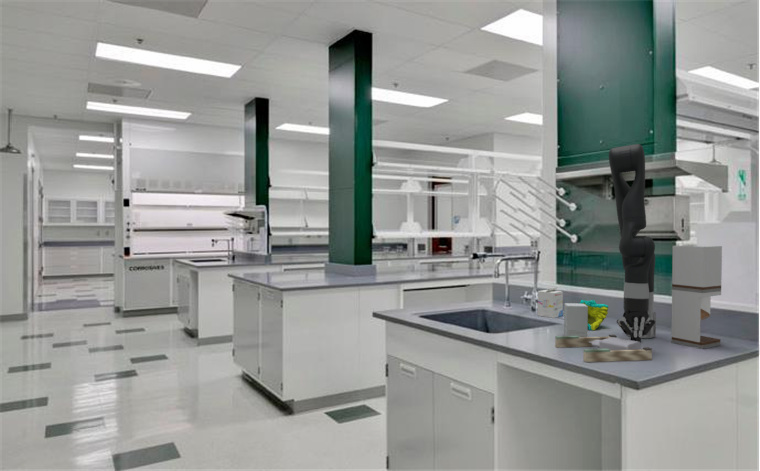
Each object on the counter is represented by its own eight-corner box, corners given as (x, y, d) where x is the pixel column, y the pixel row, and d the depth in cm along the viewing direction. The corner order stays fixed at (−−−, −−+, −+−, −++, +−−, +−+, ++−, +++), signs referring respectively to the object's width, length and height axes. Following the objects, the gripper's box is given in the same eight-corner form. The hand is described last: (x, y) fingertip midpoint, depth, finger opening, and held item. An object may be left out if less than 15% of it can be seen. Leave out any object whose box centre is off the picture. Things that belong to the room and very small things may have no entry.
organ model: (603, 315, 197) (572, 297, 204) (591, 339, 202) (561, 321, 209) (616, 304, 208) (586, 287, 215) (603, 326, 213) (575, 310, 220)
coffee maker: (702, 348, 172) (703, 246, 171) (671, 342, 181) (672, 245, 180) (720, 345, 177) (721, 246, 177) (689, 339, 187) (691, 245, 186)
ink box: (546, 313, 240) (546, 285, 240) (563, 315, 234) (563, 287, 234) (537, 315, 235) (537, 287, 234) (553, 318, 228) (554, 288, 228)
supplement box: (587, 340, 184) (588, 306, 184) (566, 339, 185) (566, 305, 185) (583, 336, 191) (584, 303, 191) (563, 335, 193) (563, 302, 192)
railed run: (614, 344, 177) (614, 334, 177) (651, 359, 158) (651, 348, 157) (555, 346, 175) (555, 336, 174) (585, 362, 155) (586, 350, 155)
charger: (596, 346, 176) (640, 355, 164) (582, 350, 170) (627, 360, 158) (596, 333, 175) (641, 341, 164) (582, 336, 170) (627, 345, 158)
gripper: (647, 294, 172) (646, 344, 172) (611, 294, 170) (610, 345, 170) (662, 297, 164) (661, 350, 165) (624, 298, 163) (623, 351, 163)
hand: (635, 347), depth 168 cm, fingers closed
